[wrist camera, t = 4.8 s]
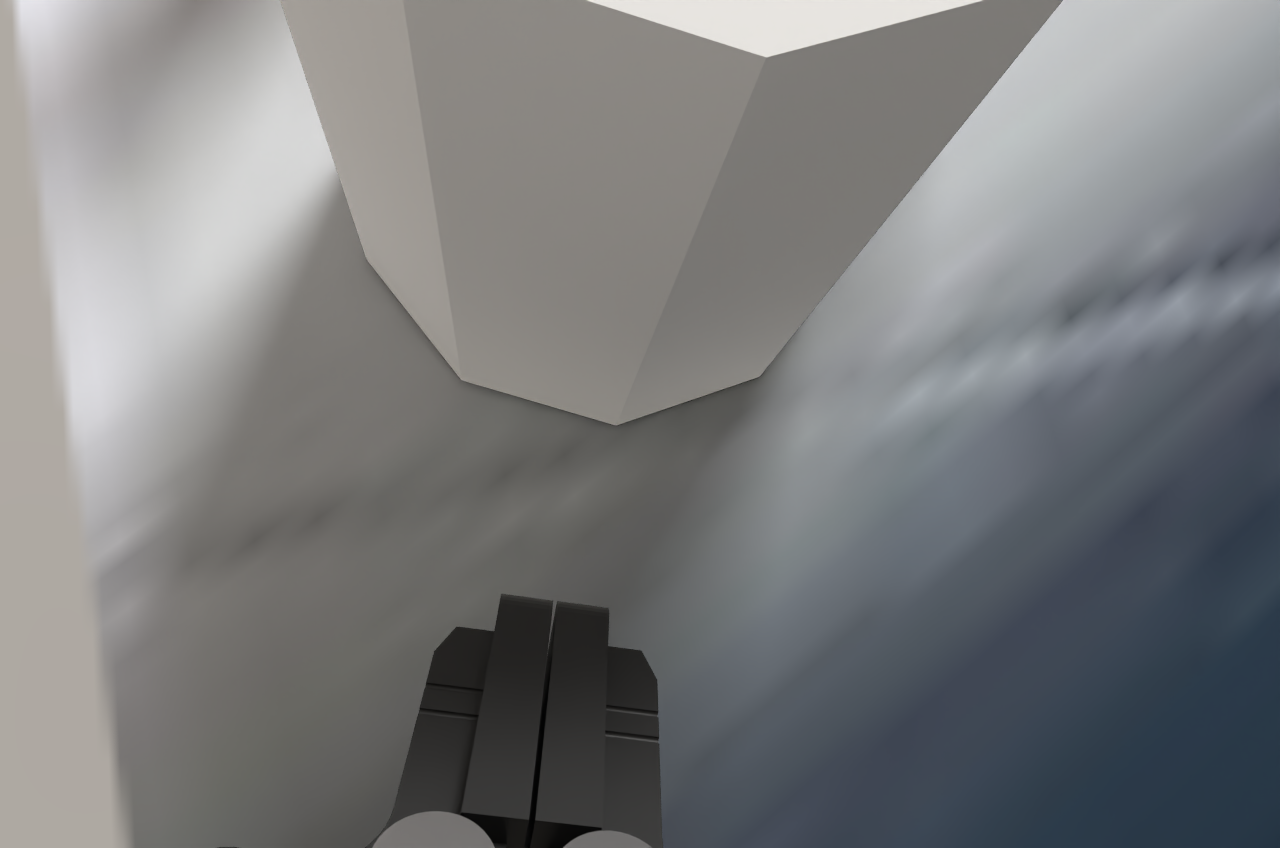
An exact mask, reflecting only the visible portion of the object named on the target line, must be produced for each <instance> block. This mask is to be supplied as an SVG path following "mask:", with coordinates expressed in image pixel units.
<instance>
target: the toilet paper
mask: <svg viewBox="0 0 1280 848" xmlns="http://www.w3.org/2000/svg"><path fill="white" fill-rule="evenodd" d="M1062 1H1063V0H280V2H281V5H282V8H283V11H284V14H285V17H286V20H287V23H288V26H289V29H290V32H291V35H292V38H293V41H294V44H295V47H296V50H297V53H298V56H299V59H300V62H301V65H302V68H303V71H304V74H305V77H306V80H307V83H308V86H309V89H310V92H311V95H312V98H313V101H314V104H315V107H316V110H317V113H318V116H319V119H320V122H321V125H322V128H323V131H324V134H325V137H326V140H327V143H328V146H329V149H330V152H331V155H332V158H333V161H334V164H335V167H336V169H337V173H338V175H339V178H340V181H341V184H342V187H343V190H344V193H345V196H346V199H347V202H348V205H349V208H350V211H351V214H352V217H353V220H354V223H355V226H356V229H357V232H358V235H359V238H360V241H361V244H362V247H363V250H364V253H365V256H366V259H367V261H368V262H369V263H370V265H371V266H372V267H373V268H374V270H375V271H376V272H377V273H378V275H379V276H380V277H381V279H382V280H383V281H384V282H385V284H386V285H387V286H388V287H389V289H390V290H391V291H392V293H393V294H394V295H395V296H396V298H397V299H398V300H399V301H400V303H401V304H402V305H403V306H404V308H405V309H406V310H407V312H408V313H409V314H410V315H411V317H412V318H413V319H414V320H415V322H416V323H417V324H418V325H419V327H420V328H421V329H422V331H423V332H424V333H425V334H426V336H427V337H428V338H429V339H430V341H431V342H432V343H433V345H434V346H435V347H436V348H437V350H438V351H439V352H440V353H441V355H442V356H443V357H444V358H445V360H446V361H447V362H448V364H449V365H450V366H451V367H452V369H453V370H454V371H455V372H456V374H457V375H458V376H459V377H460V379H461V380H462V381H466V382H469V383H473V384H476V385H479V386H483V387H486V388H490V389H493V390H496V391H500V392H503V393H507V394H510V395H514V396H517V397H520V398H524V399H527V400H531V401H534V402H537V403H541V404H544V405H548V406H551V407H554V408H558V409H561V410H565V411H568V412H571V413H575V414H578V415H582V416H585V417H588V418H592V419H595V420H599V421H602V422H606V423H609V424H612V425H619V424H622V423H625V422H628V421H631V420H634V419H637V418H640V417H643V416H646V415H649V414H652V413H655V412H658V411H660V410H663V409H666V408H669V407H672V406H675V405H678V404H681V403H684V402H687V401H690V400H693V399H696V398H699V397H702V396H705V395H707V394H710V393H713V392H716V391H719V390H722V389H725V388H728V387H731V386H734V385H737V384H740V383H743V382H746V381H749V380H752V379H755V378H757V377H760V376H761V374H762V373H763V372H764V371H765V369H766V368H767V367H768V366H769V364H770V363H771V362H772V361H773V359H774V358H775V357H776V356H777V355H778V353H779V352H780V351H781V350H782V348H783V347H784V346H785V345H786V343H787V342H788V341H789V340H790V338H791V337H792V336H793V335H794V333H795V332H796V331H797V330H798V328H799V327H800V326H801V325H802V323H803V322H804V321H805V320H806V319H807V317H808V316H809V315H810V314H811V312H812V311H813V310H814V309H815V307H816V306H817V305H818V304H819V302H820V301H821V300H822V299H823V297H824V296H825V295H826V294H827V292H828V291H829V290H830V289H831V287H832V286H833V285H834V284H835V283H836V281H837V280H838V279H839V278H840V276H841V275H842V274H843V273H844V271H845V270H846V269H847V268H848V266H849V265H850V264H851V263H852V261H853V260H854V259H855V258H856V256H857V255H858V254H859V253H860V252H861V250H862V249H863V248H864V247H865V245H866V244H867V243H868V242H869V240H870V239H871V238H872V237H873V235H874V234H875V233H876V232H877V230H878V229H879V228H880V227H881V225H882V224H883V223H884V222H885V220H886V219H887V218H888V217H889V216H890V214H891V213H892V212H893V211H894V209H895V208H896V207H897V206H898V204H899V203H900V202H901V201H902V199H903V198H904V197H905V196H906V194H907V193H908V192H909V191H910V189H911V188H912V187H913V186H914V184H915V183H916V182H917V181H918V180H919V178H920V177H921V176H922V175H923V173H924V172H925V171H926V170H927V168H928V167H929V166H930V165H931V163H932V162H933V161H934V160H935V158H936V157H937V156H938V155H939V153H940V152H941V151H942V150H943V148H944V147H945V146H946V145H947V144H948V142H949V141H950V140H951V139H952V137H953V136H954V135H955V134H956V132H957V131H958V130H959V129H960V127H961V126H962V125H963V124H964V122H965V121H966V120H967V119H968V117H969V116H970V115H971V114H972V113H973V111H974V110H975V109H976V108H977V106H978V105H979V104H980V103H981V101H982V100H983V99H984V98H985V96H986V95H987V94H988V93H989V91H990V90H991V89H992V88H993V86H994V85H995V84H996V83H997V81H998V80H999V79H1000V78H1001V77H1002V75H1003V74H1004V73H1005V72H1006V70H1007V69H1008V68H1009V67H1010V65H1011V64H1012V63H1013V62H1014V60H1015V59H1016V58H1017V57H1018V55H1019V54H1020V53H1021V52H1022V50H1023V49H1024V48H1025V47H1026V45H1027V44H1028V43H1029V42H1030V41H1031V39H1032V38H1033V37H1034V36H1035V34H1036V33H1037V32H1038V31H1039V29H1040V28H1041V27H1042V26H1043V24H1044V23H1045V22H1046V21H1047V19H1048V18H1049V17H1050V16H1051V14H1052V13H1053V12H1054V11H1055V10H1056V8H1057V7H1058V6H1059V5H1060V3H1061V2H1062Z"/></svg>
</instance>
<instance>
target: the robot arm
mask: <svg viewBox="0 0 1280 848" xmlns="http://www.w3.org/2000/svg"><path fill="white" fill-rule="evenodd" d="M552 607H553V601H551V600H543V599H536V598H528V597H521V596H514V595H506V594H501V598H500V604H499V609H498V615H497V620H496V625H495V631H486V630H479V629H471V628H464V627H456V628H455V629H454V630H453V631H452V632H451V634H450V635H449V636H448V637H447V638H446V639H445V640H444V641H443V642H442V644H441V645H440V646H439V647H438V648H437V649H436V650H435V651H434V655H433V658H432V662H431V666H430V670H429V674H428V678H427V682H426V687H425V689H424V693H423V697H422V701H421V705H420V710H419V714H418V717H417V720H416V724H415V728H414V732H413V736H412V740H411V744H410V748H409V751H408V755H407V759H406V763H405V767H404V771H403V775H402V779H401V782H400V786H399V790H398V794H397V798H396V802H395V806H394V809H393V812H392V815H391V817H390V819H389V821H388V823H387V825H386V826H385V828H384V829H383V830H382V832H381V833H380V834H379V836H378V837H377V838H376V839H374V840H373V841H372V842H371V843H370V844H369V845H368V846H366V847H365V848H663V841H662V819H661V787H660V755H659V743H658V739H659V723H658V717H657V716H658V690H657V679H656V677H655V675H654V673H653V671H652V669H651V668H650V666H649V664H648V662H647V660H646V658H645V656H644V655H643V653H642V651H640V650H633V649H625V648H618V647H610V646H608V631H609V609H608V608H604V607H597V606H589V605H582V604H574V603H567V602H560V601H557V604H556V609H555V615H554V620H553V626H552V632H551V637H550V643H549V634H550V625H551V616H552ZM548 643H549V649H548ZM547 652H548V654H547ZM219 848H237V847H219Z"/></svg>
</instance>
